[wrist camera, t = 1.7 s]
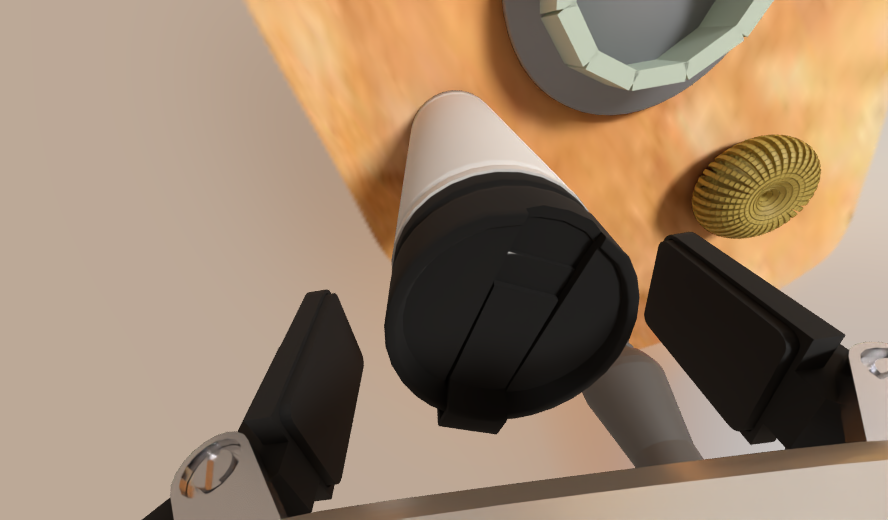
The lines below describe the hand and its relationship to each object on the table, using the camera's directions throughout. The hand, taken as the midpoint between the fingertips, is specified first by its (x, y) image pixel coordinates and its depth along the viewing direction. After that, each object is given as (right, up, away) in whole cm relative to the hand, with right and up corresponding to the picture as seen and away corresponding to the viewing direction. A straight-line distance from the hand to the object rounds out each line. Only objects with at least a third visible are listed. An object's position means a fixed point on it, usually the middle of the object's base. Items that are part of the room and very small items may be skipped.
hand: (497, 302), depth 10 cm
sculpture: (+22, +8, +18) cm, 29 cm away
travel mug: (-1, +10, +15) cm, 18 cm away
